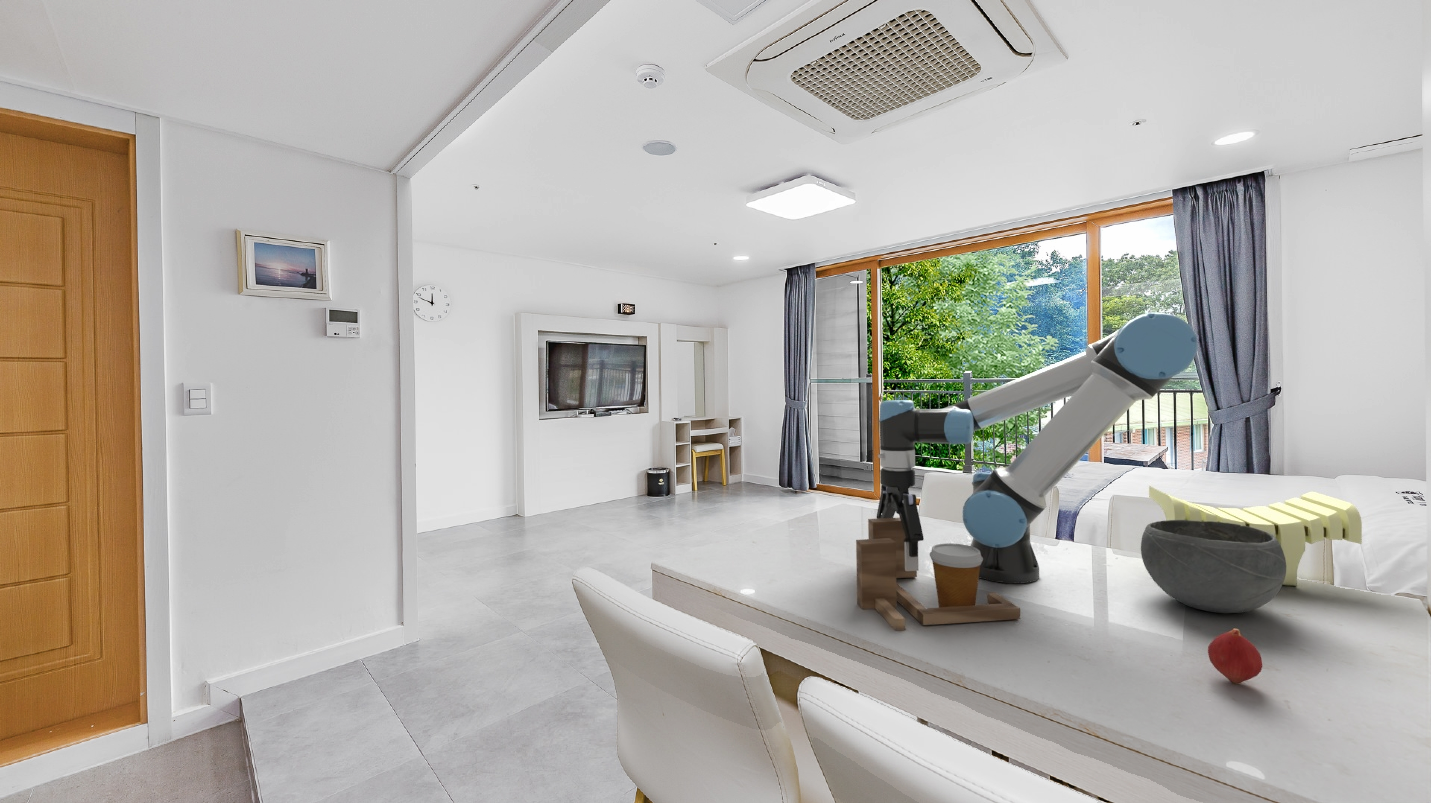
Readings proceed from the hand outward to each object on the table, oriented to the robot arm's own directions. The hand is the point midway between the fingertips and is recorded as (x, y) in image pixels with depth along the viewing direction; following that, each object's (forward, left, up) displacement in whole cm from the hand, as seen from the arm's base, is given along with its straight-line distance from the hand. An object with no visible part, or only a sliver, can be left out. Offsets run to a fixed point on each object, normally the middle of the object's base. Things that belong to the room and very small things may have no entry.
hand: (898, 560), depth 129 cm
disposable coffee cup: (-3, +20, -4) cm, 20 cm away
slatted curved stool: (-74, +11, -4) cm, 75 cm away
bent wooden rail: (-3, +12, -3) cm, 13 cm away
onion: (-29, +50, -4) cm, 58 cm away
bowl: (-51, +25, -4) cm, 57 cm away
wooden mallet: (+11, +20, -4) cm, 23 cm away
